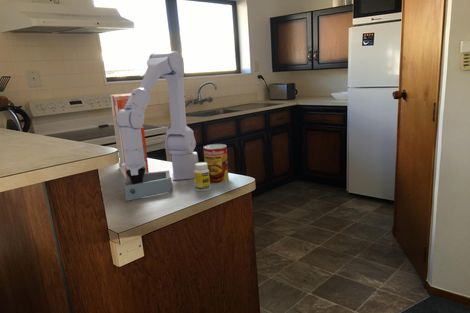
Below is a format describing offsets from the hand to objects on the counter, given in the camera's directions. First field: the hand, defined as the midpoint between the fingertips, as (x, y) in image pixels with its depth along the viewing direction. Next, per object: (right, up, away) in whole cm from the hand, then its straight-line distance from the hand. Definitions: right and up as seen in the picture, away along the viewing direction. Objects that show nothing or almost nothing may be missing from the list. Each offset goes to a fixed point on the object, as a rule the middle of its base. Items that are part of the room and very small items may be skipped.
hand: (138, 191), depth 116 cm
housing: (+2, 0, +7) cm, 8 cm away
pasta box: (-10, +5, +31) cm, 33 cm away
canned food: (+24, +2, +14) cm, 28 cm away
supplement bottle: (+20, 0, +5) cm, 20 cm away
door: (+4, -1, 0) cm, 4 cm away
